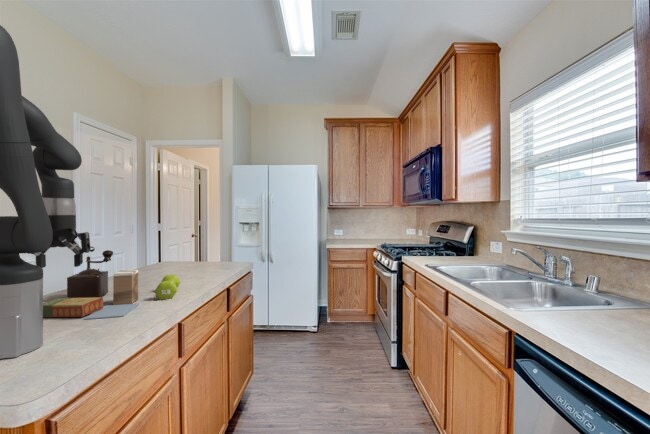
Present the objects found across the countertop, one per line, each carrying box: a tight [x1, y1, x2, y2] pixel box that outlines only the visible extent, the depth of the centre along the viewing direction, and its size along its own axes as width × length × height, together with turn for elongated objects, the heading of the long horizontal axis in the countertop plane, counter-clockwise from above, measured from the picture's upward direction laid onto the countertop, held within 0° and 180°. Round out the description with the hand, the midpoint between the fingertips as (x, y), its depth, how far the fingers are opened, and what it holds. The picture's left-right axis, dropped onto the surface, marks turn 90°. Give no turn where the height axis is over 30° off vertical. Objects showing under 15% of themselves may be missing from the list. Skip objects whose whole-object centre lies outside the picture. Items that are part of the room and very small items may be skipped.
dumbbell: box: [154, 274, 181, 301], centre depth 117 cm, size 16×8×7 cm, turn 22°
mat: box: [83, 303, 139, 321], centre depth 96 cm, size 13×11×1 cm
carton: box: [43, 296, 104, 318], centre depth 94 cm, size 8×16×4 cm, turn 88°
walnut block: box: [112, 269, 139, 305], centre depth 106 cm, size 6×6×12 cm
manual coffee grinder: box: [66, 249, 114, 298], centre depth 116 cm, size 16×11×18 cm
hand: (60, 266), depth 83 cm, fingers open, 8 cm apart
